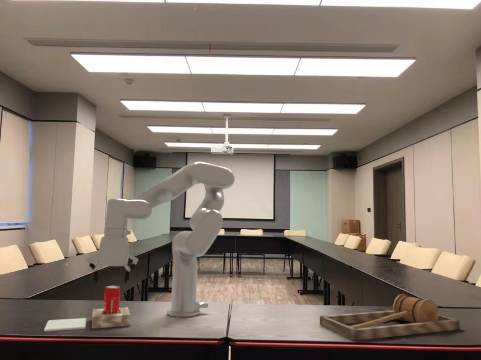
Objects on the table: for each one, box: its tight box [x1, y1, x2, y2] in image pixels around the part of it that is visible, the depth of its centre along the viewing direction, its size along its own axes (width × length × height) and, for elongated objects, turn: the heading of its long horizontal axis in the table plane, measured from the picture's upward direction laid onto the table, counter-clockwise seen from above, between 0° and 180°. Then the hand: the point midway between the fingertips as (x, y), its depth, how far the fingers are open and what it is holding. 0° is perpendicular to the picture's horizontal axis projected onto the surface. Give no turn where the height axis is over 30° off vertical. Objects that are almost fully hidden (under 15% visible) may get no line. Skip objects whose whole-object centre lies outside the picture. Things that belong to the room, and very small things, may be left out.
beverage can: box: [103, 285, 121, 314], centre depth 130 cm, size 5×5×12 cm
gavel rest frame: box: [319, 309, 461, 341], centre depth 132 cm, size 45×19×3 cm, turn 111°
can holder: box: [91, 306, 132, 329], centre depth 130 cm, size 12×12×4 cm
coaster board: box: [43, 317, 87, 333], centre depth 125 cm, size 12×12×1 cm
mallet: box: [349, 293, 439, 329], centre depth 132 cm, size 12×38×10 cm, turn 113°
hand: (111, 282), depth 131 cm, fingers open, 9 cm apart
